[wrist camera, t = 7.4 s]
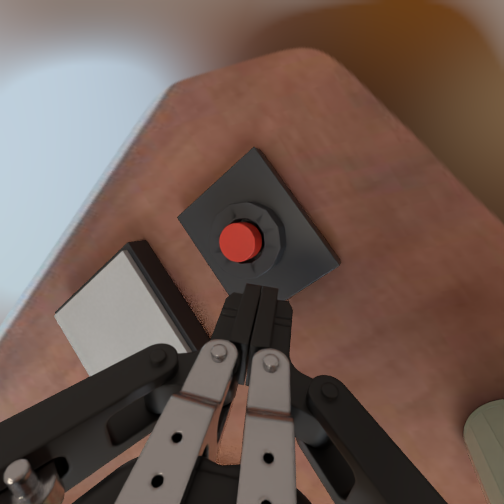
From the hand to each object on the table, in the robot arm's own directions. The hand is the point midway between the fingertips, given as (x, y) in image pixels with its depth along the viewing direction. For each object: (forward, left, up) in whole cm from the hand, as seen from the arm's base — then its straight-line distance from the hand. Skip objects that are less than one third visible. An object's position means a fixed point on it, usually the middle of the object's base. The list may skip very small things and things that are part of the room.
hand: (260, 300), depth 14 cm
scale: (-4, -18, -11) cm, 22 cm away
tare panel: (-4, -2, -11) cm, 12 cm away
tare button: (-4, -2, -8) cm, 10 cm away
